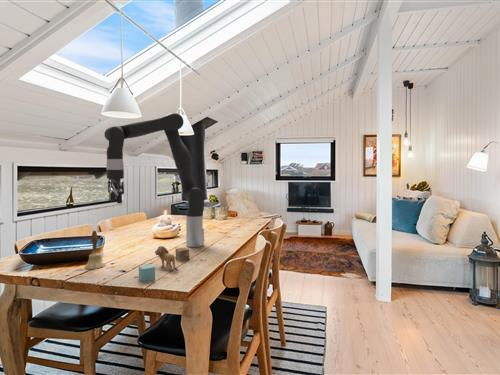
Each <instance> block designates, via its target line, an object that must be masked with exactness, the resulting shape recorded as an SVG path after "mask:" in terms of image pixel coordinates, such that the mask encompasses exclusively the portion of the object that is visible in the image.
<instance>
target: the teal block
mask: <svg viewBox="0 0 500 375" xmlns="http://www.w3.org/2000/svg"><path fill="white" fill-rule="evenodd" d="M138 278H139V280H140V281H141V282H149V281H154V280H156V266H154V265H153V264H152V263H149V264H142V265H139V266H138Z"/></svg>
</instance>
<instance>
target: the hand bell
mask: <svg viewBox="0 0 500 375" xmlns="http://www.w3.org/2000/svg"><path fill="white" fill-rule="evenodd" d="M90 238H91V244H92V252H91V254H89V255H88V261H87V263H86V264H85V266H84V269H87V270H95V269H101V268H104V267H105V266H106V263H105V262H103V259H102V256H101V253H99V252H98V249H97V247H98V246H97V245H98V240H99V236H98V233H97V231H96V230H92V234H91V237H90Z"/></svg>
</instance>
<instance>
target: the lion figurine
mask: <svg viewBox="0 0 500 375" xmlns="http://www.w3.org/2000/svg"><path fill="white" fill-rule="evenodd" d="M154 253H155V256H158V257H159V259H160V260H161V266H160V268H164V267H167V266H169V268H170V269H169V272H173V270H175V271H177V272H178V271H179V269H178V268H177V267H176V265H175V264H176V256H174V255H175V254H173V253H172V254H171V253H169V250H168V248H166V247H164V246H162V245H159V246H158V247H157V249H156V250H155V251H154ZM172 265H173V266H172Z"/></svg>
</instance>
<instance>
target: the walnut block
mask: <svg viewBox="0 0 500 375" xmlns="http://www.w3.org/2000/svg"><path fill="white" fill-rule="evenodd" d="M175 260H177V261H178V262H184V261H188V260H190V249H189V248H187V247H178V248H175Z"/></svg>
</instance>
